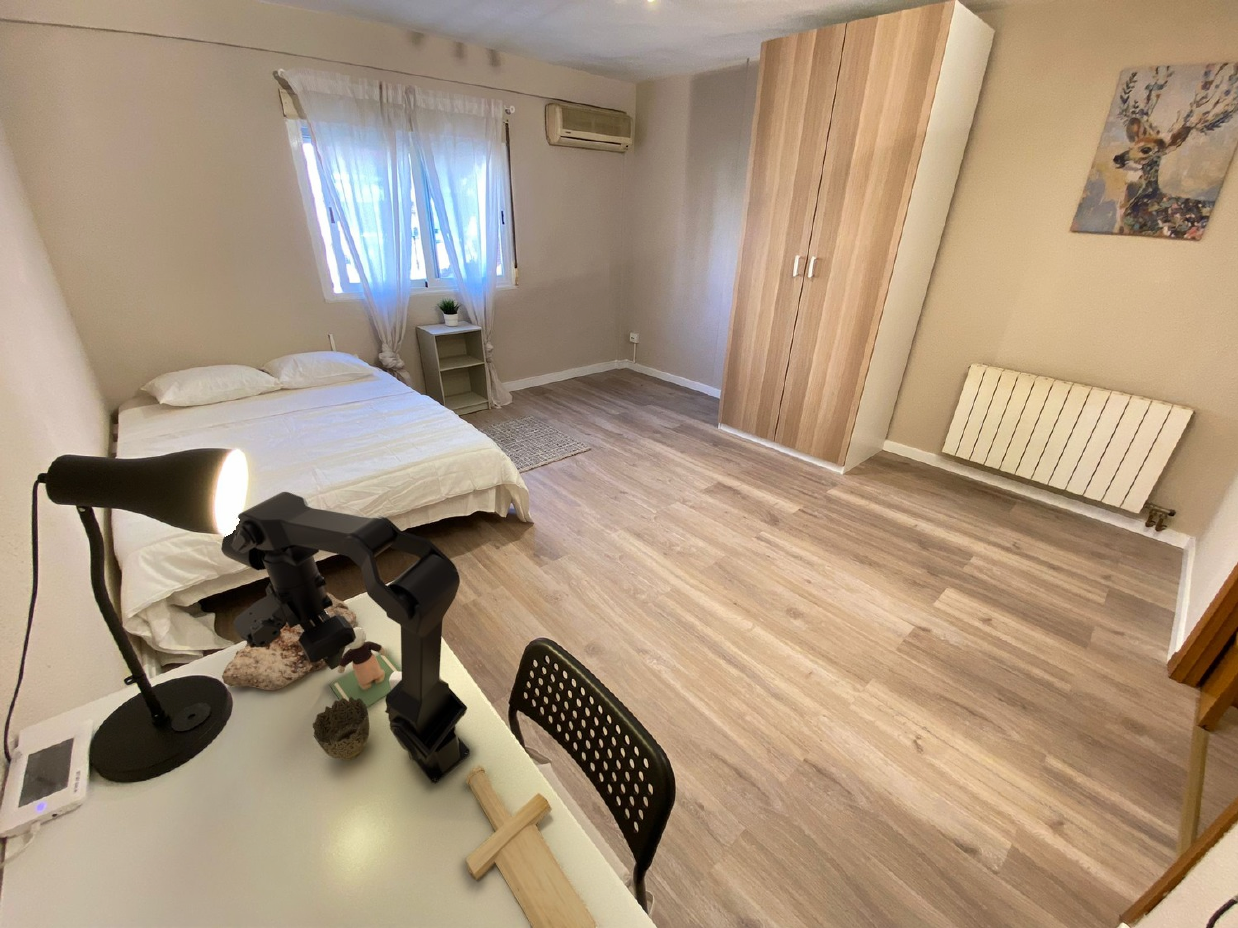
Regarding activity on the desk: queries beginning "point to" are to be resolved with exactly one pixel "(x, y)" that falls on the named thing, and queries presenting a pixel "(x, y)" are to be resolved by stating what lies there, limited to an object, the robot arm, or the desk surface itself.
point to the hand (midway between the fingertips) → (323, 650)
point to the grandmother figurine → (363, 660)
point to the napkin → (350, 686)
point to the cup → (342, 728)
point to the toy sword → (526, 860)
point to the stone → (278, 657)
